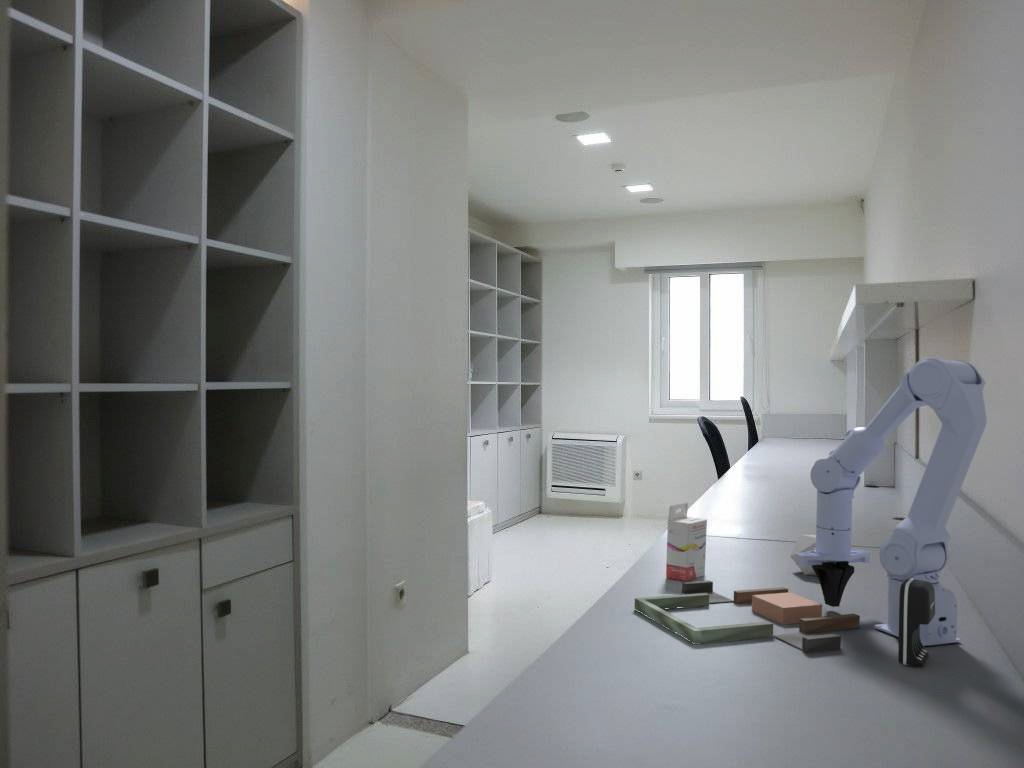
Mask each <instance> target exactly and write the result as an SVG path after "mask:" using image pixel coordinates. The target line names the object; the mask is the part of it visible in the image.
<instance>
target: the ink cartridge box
mask: <svg viewBox="0 0 1024 768" xmlns="http://www.w3.org/2000/svg"><path fill="white" fill-rule="evenodd" d="M688 509H689V503H688V502H684V503H683V502H682V503H677V504H672V505H670V506H669V510H668V511H669V512H668V518H667V537H666V566H665V569H666V571H665V577H666V578H667V579H673V580H677V581H682V582H691V581H692V580H695V579H697V578H700V577H704V576H705V575H706V553H707V550H706V548H707V527H708V526H707V525H708V519H707V518H701V517H692V516H688ZM677 510H680V511H679V512H676V511H677Z"/></svg>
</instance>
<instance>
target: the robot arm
mask: <svg viewBox="0 0 1024 768" xmlns="http://www.w3.org/2000/svg"><path fill="white" fill-rule="evenodd" d="M985 386H986V381H985V379H984V378H983V376H982V375H981V373H980V372H979V370H978V369H977V368H976V366H974V364H972V363H971V362H969V361H966V360H961V359H955V360H948V359H939V358H935V357H926V358H922V359H920V360H917V362H916V363H914V364H913V366H912V367H911V368H910V371H907V372H906V373H905V374H904V375H903V376H902V377H901V380H900V383H899V385H898V386H897V387H896V389H895V390H894V391H893V393H892V394H891V395H890V397H889V398H888V399H887V400H886V401H885V403H884V404H883V405H882V406H881V407H880V409H879V410H878V411H877V413H876V414H875V415H874V417H872V419H871V420H870V421H869V422H868V424H867V425H866V426H858V427H855V428H853V429H848V430H847V431H846V432H845V434H844V435H845V438H844V440H843V441H842V442H840V444H839V445H838V446H837V447H836V448H835V449H834V450H833V449H832V450H831V451H830V452H829V453H828V457H826V458H820V459H817V460H816V461H815V462H814V464H813V466H812V467H811V470H810V481H811V483H812V485H813V487H814V488H815V489H816V524H815V525H816V529H815V531H816V532H815V535H816V548H814V550H813V551H808V552H804V553H796V563H795V565H796V566H798V565H799V566H802V567H807V566H808V565H812V568H813V570H814V571H815V573H816V575H815V576H816V578H817V580H818V583H819V585H820V588H821V592H822V596H823V601H824V603H825V605H828V606H829V607H832V608H836V607H840V604H841V601H842V598H843V594H844V592H845V589H846V586H847V584H848V583H849V580H850V579H851V577H852V576H853V574H855V566H854V565H850V564H852V563H853V564H854V563H864V564H868V563H871V561H870V560H871V559H870V558H871V557H870V556H871V552H870V551H867V550H864V549H852V528H853V527H852V526H853V525H852V523H853V519H852V518H853V499H854V497H855V495H854V494H855V493H854V492H855V490H856V489H857V488H858V487H859V484H860V483H861V478H862V477H861V475H862V473H863V472H865V471H866V469H868V468H869V466H870V465H871V464H872V463H873V462H874V461H875V460H876V459H877V458H878V457H879V456H880V455H881V454H882V453H883V452H884V450H885V441H884V440H885V439H886V438H887V437H888V436H889V435H890V434H892V432H894V431H895V430H896V429H897V428H898V427H899V426H900V425H901V424H902V423H903V422H904V421H905V420H906V419H907V418H908V417H910V416H911V415H912V414H913V413H914V412H915V411H916V410H917V409H919V408H921V407H926V406H928V407H930V409H931V410H933V412H934V413H935V414H936V417H938V420H939V421H940V422H941V427H940V431H939V434H938V436H937V438H936V441H935V443H934V446H933V448H932V451H931V454H930V456H929V459H928V461H927V464H926V467H925V468H924V469H925V470H924V473H923V475H922V477H921V479H920V482H919V485H918V488H917V491H916V493H915V495H914V498H913V501H912V503H911V506H910V509H909V511H908V514H907V516H906V517H905V518H904V519H903V520H901V521H900V522H899V523H898V524H897V525H896V526H895V528H894V529H893V532H892V534H891V536H890V537H889V538H888V539H887V540H885V541H884V542H883V543H882V545H881V546H880V549H879V553H878V555H879V561H880V564H881V566H882V568H883V570H885V572H886V573H887V574H886V575H887V576H886V578H887V613H886V614H887V618H886V622H887V623H880V624H874V627H873V628H874V629H877V630H879V631H883V632H884V633H887V634H889V635H892V636H895V637H898V638H899V597H900V587H901V584H902V583H903V582H904V581H905V580H906V579H908V578H910V579H911V578H914V579H917V580H923V581H928V582H930V583H931V584H932V585H933V587H934V590H935V615H934V617H933V619H932V620H931V622H930V623H929V624H928V625H923V624H920V639H921V643H922V645H923V647H926V646H927V647H928V646H936V645H945V644H951V643H952V644H954V643H960V642H961V638H959V637H957V634H958V633H957V631H958V630H957V628H958V627H957V625H958V623H957V622H958V619H957V618H958V602H957V601H958V600H957V597H956V595H955V593H954V592H953V591H952V590H951V589H949V588H948V587H945V586H944V585H942V583H941V582H940V576H941V571H942V570H944V569H945V567H947V564H948V562H949V550H948V549H949V542H950V539H951V535H950V533H949V532H948V530H947V529H946V526H947V524H948V522H949V519H950V516H951V514H952V511H953V509H954V507H955V504H956V501H957V499H958V496H959V494H960V491H961V489H962V487H963V483H964V481H965V479H966V477H967V474H968V472H969V469H970V466H971V463H972V461H973V458H974V457H975V455H976V451H977V449H978V446H979V444H980V442H981V439H982V436H983V434H984V432H985V428H986V426H987V420H988V419H987V413H986V412H987V411H986V405H985V399H984V389H985V388H984V387H985Z"/></svg>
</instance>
